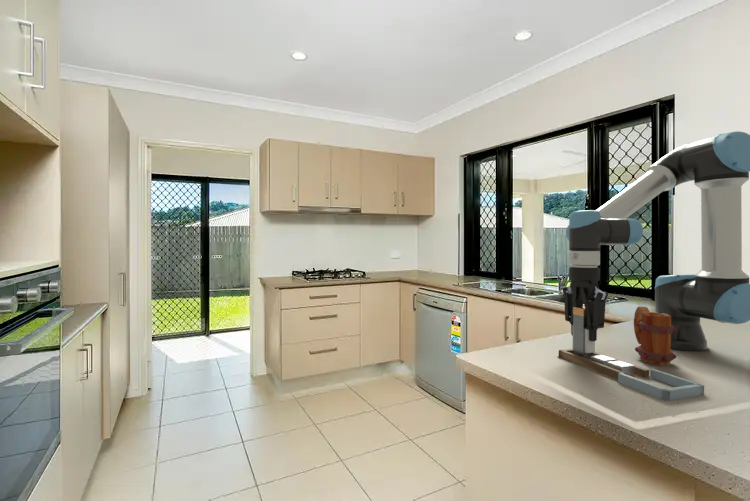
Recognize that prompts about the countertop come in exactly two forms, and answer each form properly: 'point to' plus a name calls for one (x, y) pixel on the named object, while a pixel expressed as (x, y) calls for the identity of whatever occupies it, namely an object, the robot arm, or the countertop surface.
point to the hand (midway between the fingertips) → (583, 349)
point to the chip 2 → (622, 367)
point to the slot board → (600, 365)
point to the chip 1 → (602, 359)
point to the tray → (680, 391)
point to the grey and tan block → (579, 332)
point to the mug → (653, 336)
